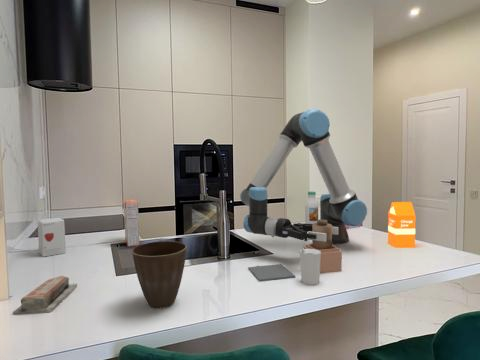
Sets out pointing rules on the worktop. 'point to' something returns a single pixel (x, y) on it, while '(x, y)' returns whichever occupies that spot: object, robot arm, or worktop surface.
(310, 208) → the milk bottle
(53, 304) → the packaged product
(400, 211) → the orange juice
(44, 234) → the supplement box
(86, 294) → the worktop surface
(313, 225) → the brown jar
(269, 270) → the slate mat
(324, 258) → the terracotta box
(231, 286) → the worktop surface
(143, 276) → the plant pot
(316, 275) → the grey cylinder
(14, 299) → the worktop surface
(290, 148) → the robot arm
